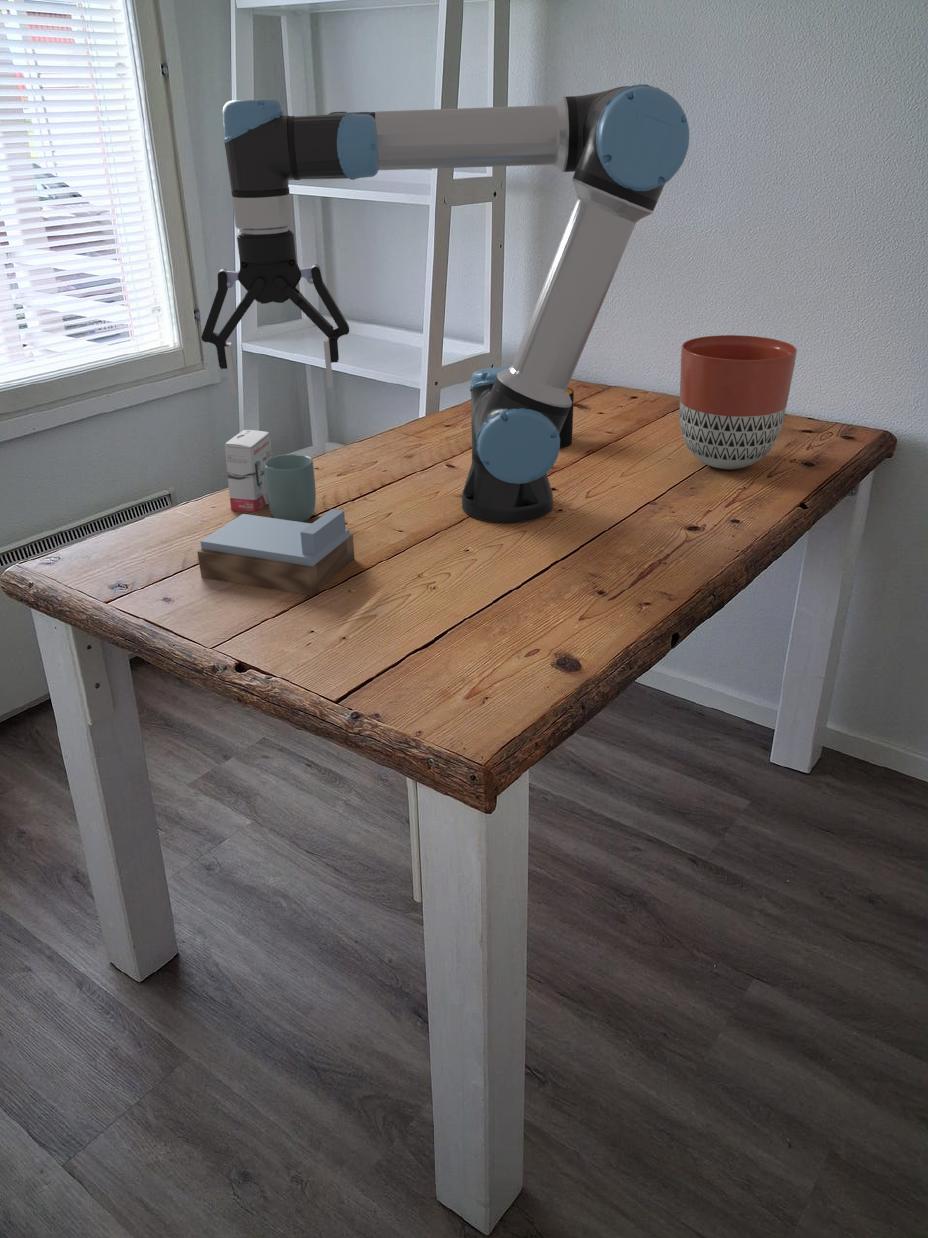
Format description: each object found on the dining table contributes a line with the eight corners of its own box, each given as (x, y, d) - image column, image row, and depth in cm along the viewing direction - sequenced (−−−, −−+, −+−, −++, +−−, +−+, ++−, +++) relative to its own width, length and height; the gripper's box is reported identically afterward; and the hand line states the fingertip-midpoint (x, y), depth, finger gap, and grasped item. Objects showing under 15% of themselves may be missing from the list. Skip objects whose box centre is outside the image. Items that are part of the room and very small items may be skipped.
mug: (585, 434, 202) (587, 383, 197) (561, 451, 192) (563, 398, 188) (548, 429, 205) (549, 379, 200) (522, 446, 196) (523, 393, 191)
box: (354, 561, 149) (352, 533, 147) (311, 598, 138) (308, 569, 136) (250, 545, 155) (247, 518, 153) (201, 580, 144) (197, 551, 142)
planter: (661, 475, 180) (671, 355, 170) (683, 443, 195) (693, 331, 185) (773, 488, 173) (790, 364, 163) (786, 454, 189) (802, 338, 179)
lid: (349, 536, 146) (347, 508, 144) (312, 566, 137) (309, 536, 135) (243, 521, 152) (240, 493, 150) (201, 548, 143) (197, 520, 141)
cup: (326, 514, 166) (321, 456, 161) (304, 531, 159) (298, 471, 155) (284, 509, 168) (278, 451, 164) (261, 526, 162) (254, 467, 157)
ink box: (259, 514, 166) (250, 445, 161) (230, 513, 167) (221, 444, 162) (277, 496, 174) (270, 429, 168) (250, 494, 175) (242, 428, 169)
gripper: (357, 222, 138) (368, 376, 148) (172, 230, 135) (196, 386, 145) (359, 228, 131) (370, 389, 141) (165, 237, 129) (190, 400, 139)
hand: (282, 388), depth 143 cm, fingers open, 13 cm apart
